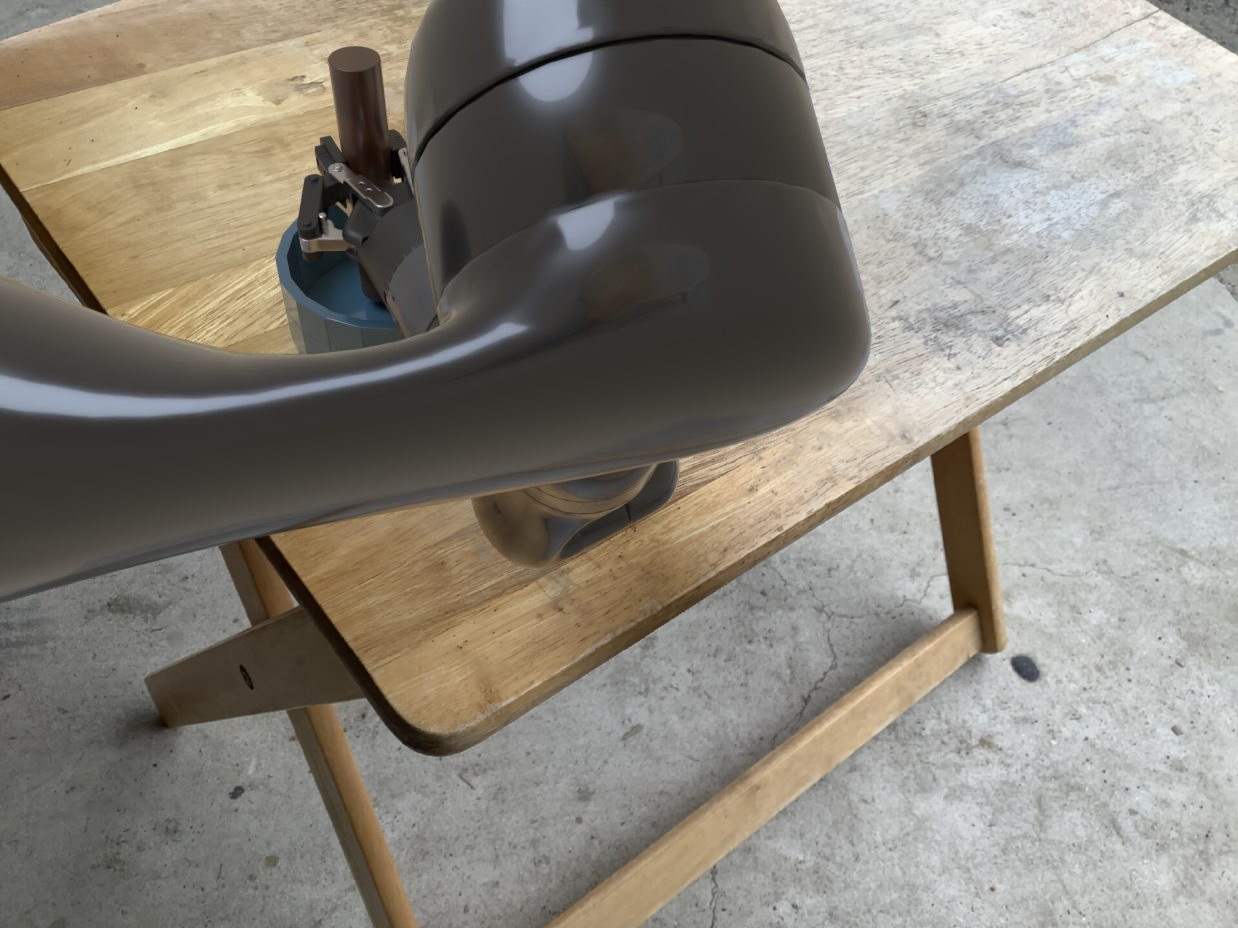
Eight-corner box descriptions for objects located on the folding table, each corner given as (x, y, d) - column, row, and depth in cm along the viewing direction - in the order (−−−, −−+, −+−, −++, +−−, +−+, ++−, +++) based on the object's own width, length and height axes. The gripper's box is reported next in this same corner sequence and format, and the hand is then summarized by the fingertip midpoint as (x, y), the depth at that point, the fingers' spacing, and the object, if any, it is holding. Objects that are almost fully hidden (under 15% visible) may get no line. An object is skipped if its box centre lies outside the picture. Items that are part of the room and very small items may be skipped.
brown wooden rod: (365, 304, 79) (331, 74, 66) (358, 278, 81) (324, 48, 68) (409, 298, 80) (384, 68, 67) (401, 271, 82) (375, 43, 69)
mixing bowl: (306, 413, 74) (292, 347, 70) (278, 264, 84) (263, 199, 80) (542, 370, 78) (543, 306, 74) (488, 234, 88) (485, 170, 84)
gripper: (557, 208, 64) (445, 71, 74) (325, 269, 59) (238, 113, 69) (555, 306, 70) (451, 167, 80) (343, 369, 65) (260, 212, 75)
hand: (353, 143), depth 74 cm, fingers closed on brown wooden rod, 3 cm apart
